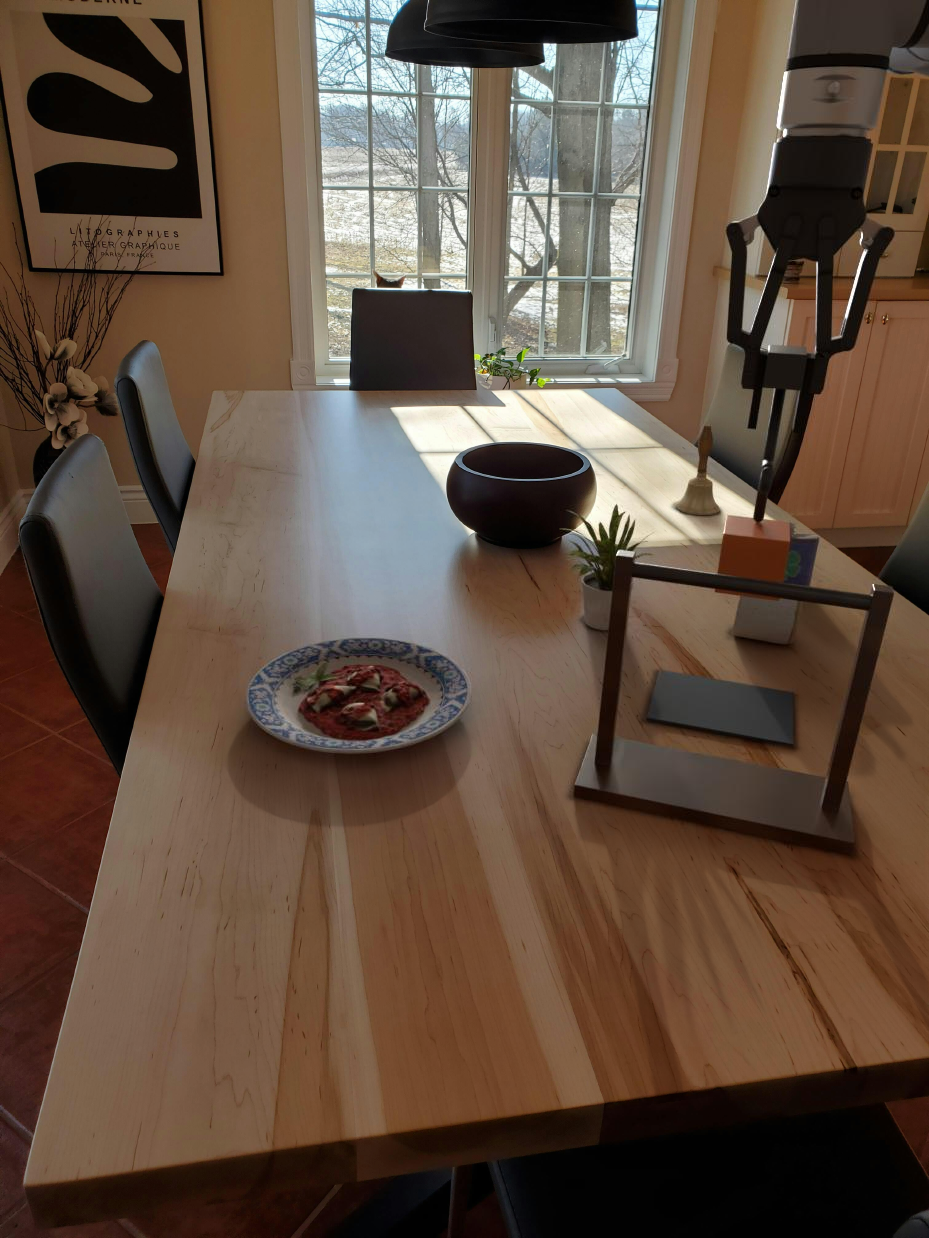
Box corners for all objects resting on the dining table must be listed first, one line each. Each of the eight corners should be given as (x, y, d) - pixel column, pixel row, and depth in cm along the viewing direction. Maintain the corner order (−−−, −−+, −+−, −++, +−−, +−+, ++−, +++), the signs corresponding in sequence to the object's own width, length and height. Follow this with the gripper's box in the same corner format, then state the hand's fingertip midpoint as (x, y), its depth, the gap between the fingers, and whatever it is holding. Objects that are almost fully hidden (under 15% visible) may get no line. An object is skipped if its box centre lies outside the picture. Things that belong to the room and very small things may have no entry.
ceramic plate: (517, 706, 105) (518, 684, 103) (342, 801, 88) (340, 776, 87) (374, 633, 121) (373, 613, 120) (203, 701, 104) (200, 678, 103)
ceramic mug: (793, 655, 118) (804, 601, 115) (729, 644, 120) (738, 591, 117) (796, 624, 127) (806, 573, 124) (736, 614, 129) (745, 564, 126)
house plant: (550, 594, 134) (558, 488, 127) (644, 600, 133) (657, 494, 126) (548, 637, 121) (557, 522, 114) (652, 644, 120) (667, 529, 113)
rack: (845, 793, 91) (902, 570, 80) (851, 855, 83) (916, 615, 72) (591, 744, 98) (613, 533, 87) (573, 797, 89) (594, 570, 79)
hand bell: (695, 518, 167) (707, 433, 160) (665, 505, 173) (676, 422, 166) (728, 511, 170) (742, 428, 163) (698, 499, 177) (710, 418, 170)
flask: (807, 588, 138) (820, 522, 134) (810, 595, 136) (824, 529, 131) (745, 582, 140) (756, 517, 135) (747, 590, 137) (759, 524, 132)
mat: (792, 694, 109) (793, 691, 109) (793, 747, 98) (793, 744, 98) (659, 672, 113) (659, 669, 113) (646, 720, 103) (646, 717, 103)
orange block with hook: (779, 578, 90) (822, 347, 81) (779, 601, 85) (825, 357, 75) (717, 570, 92) (753, 342, 82) (714, 592, 87) (751, 352, 77)
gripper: (716, 132, 70) (679, 428, 81) (943, 133, 66) (874, 446, 76) (721, 137, 77) (687, 411, 87) (929, 138, 73) (866, 426, 83)
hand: (774, 427), depth 82 cm, fingers closed on orange block with hook, 3 cm apart
